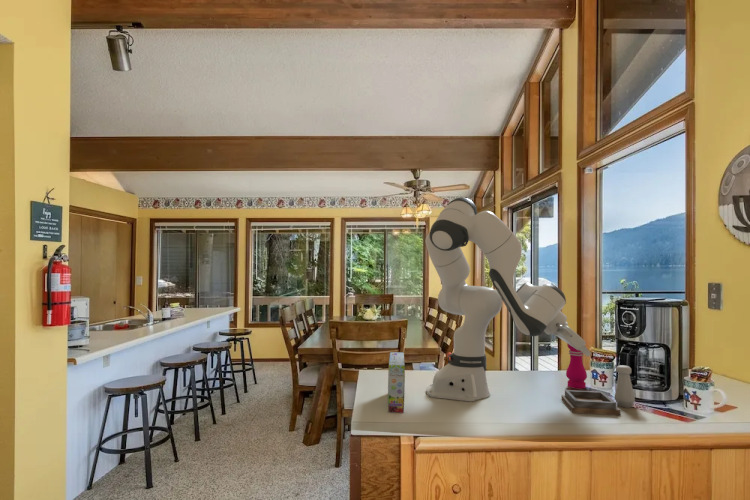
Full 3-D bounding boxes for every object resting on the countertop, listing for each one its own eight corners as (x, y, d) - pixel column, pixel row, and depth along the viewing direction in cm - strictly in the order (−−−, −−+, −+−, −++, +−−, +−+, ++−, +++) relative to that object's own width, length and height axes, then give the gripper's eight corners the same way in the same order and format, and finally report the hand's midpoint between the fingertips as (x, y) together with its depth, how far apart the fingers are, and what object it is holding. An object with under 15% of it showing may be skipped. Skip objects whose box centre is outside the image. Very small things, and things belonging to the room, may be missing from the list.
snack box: (405, 413, 134) (405, 365, 134) (387, 413, 134) (387, 364, 135) (404, 393, 155) (404, 351, 155) (388, 393, 155) (388, 351, 156)
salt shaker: (637, 409, 137) (636, 368, 138) (618, 407, 139) (617, 367, 139) (630, 403, 143) (629, 364, 144) (612, 402, 144) (611, 363, 145)
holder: (572, 412, 134) (572, 401, 134) (561, 399, 147) (561, 389, 147) (620, 415, 132) (620, 403, 132) (605, 401, 145) (604, 391, 145)
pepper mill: (563, 386, 163) (562, 333, 164) (571, 382, 168) (570, 331, 169) (582, 390, 158) (581, 336, 159) (590, 386, 163) (589, 334, 163)
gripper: (568, 319, 135) (602, 351, 133) (553, 312, 155) (582, 340, 153) (554, 333, 135) (587, 365, 133) (540, 324, 155) (569, 352, 153)
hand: (584, 352), depth 143 cm, fingers open, 8 cm apart
